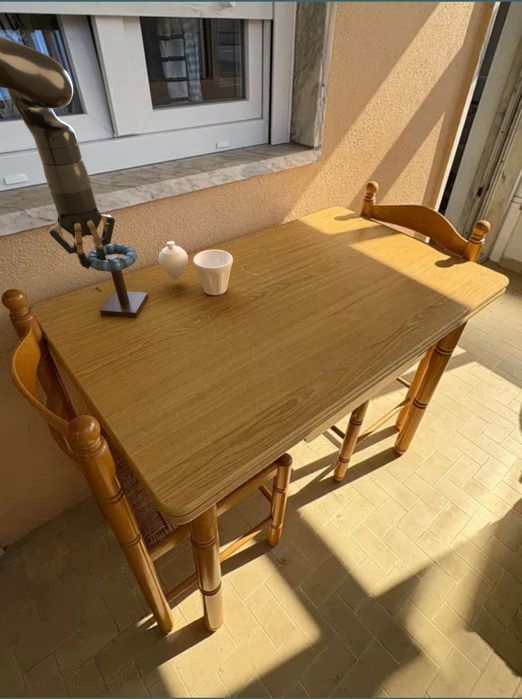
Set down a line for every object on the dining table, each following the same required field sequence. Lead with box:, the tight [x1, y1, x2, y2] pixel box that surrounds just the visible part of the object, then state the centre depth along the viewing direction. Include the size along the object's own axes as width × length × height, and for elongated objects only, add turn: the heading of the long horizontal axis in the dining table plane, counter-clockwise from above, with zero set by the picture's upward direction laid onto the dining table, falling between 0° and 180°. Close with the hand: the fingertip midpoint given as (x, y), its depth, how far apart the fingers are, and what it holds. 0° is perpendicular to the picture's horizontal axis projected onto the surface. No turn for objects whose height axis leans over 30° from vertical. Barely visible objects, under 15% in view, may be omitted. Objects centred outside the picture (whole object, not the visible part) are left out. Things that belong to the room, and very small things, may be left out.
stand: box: [98, 254, 149, 319], centre depth 91 cm, size 9×9×14 cm
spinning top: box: [157, 240, 189, 285], centre depth 100 cm, size 8×8×12 cm
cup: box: [192, 249, 234, 297], centre depth 99 cm, size 10×10×9 cm
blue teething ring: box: [86, 243, 138, 273], centre depth 87 cm, size 11×11×2 cm
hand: (94, 265), depth 85 cm, fingers closed on blue teething ring, 2 cm apart
